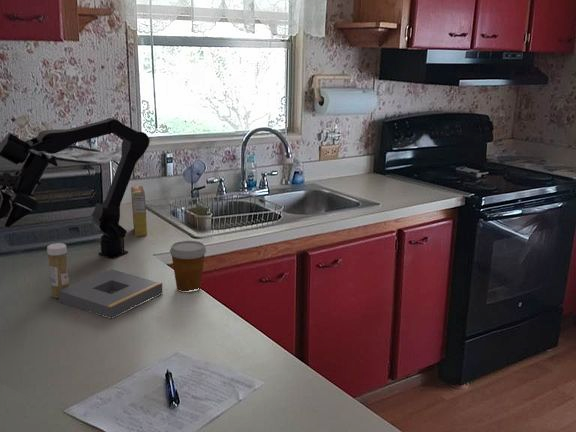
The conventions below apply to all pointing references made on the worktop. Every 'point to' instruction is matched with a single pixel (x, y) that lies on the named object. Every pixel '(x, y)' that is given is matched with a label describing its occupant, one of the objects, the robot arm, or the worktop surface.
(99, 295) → the socket plate
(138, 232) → the candy box
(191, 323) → the worktop surface
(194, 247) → the disposable coffee cup
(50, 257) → the amber pill bottle
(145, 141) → the robot arm
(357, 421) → the worktop surface
